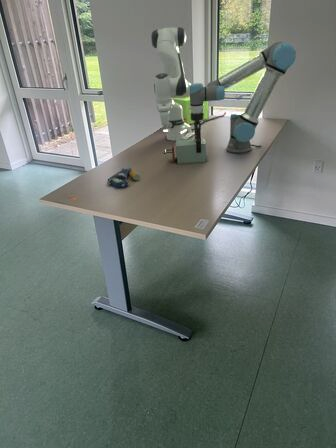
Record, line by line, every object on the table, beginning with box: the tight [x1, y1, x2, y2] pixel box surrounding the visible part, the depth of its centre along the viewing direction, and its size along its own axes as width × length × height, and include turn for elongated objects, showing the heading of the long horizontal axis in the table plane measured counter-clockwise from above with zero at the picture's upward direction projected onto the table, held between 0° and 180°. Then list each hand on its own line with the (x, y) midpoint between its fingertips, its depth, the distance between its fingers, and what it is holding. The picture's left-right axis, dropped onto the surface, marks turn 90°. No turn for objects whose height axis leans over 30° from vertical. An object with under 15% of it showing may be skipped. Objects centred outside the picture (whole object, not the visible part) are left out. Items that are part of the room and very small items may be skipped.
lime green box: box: [173, 96, 210, 126], centre depth 283 cm, size 25×21×23 cm
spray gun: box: [106, 167, 141, 189], centre depth 186 cm, size 21×4×15 cm
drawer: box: [163, 142, 177, 163], centre depth 205 cm, size 22×9×9 cm, turn 90°
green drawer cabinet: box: [175, 137, 207, 165], centre depth 205 cm, size 17×10×11 cm, turn 90°
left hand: (166, 129), depth 198 cm, fingers closed
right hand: (198, 149), depth 204 cm, fingers closed on green drawer cabinet, 10 cm apart
